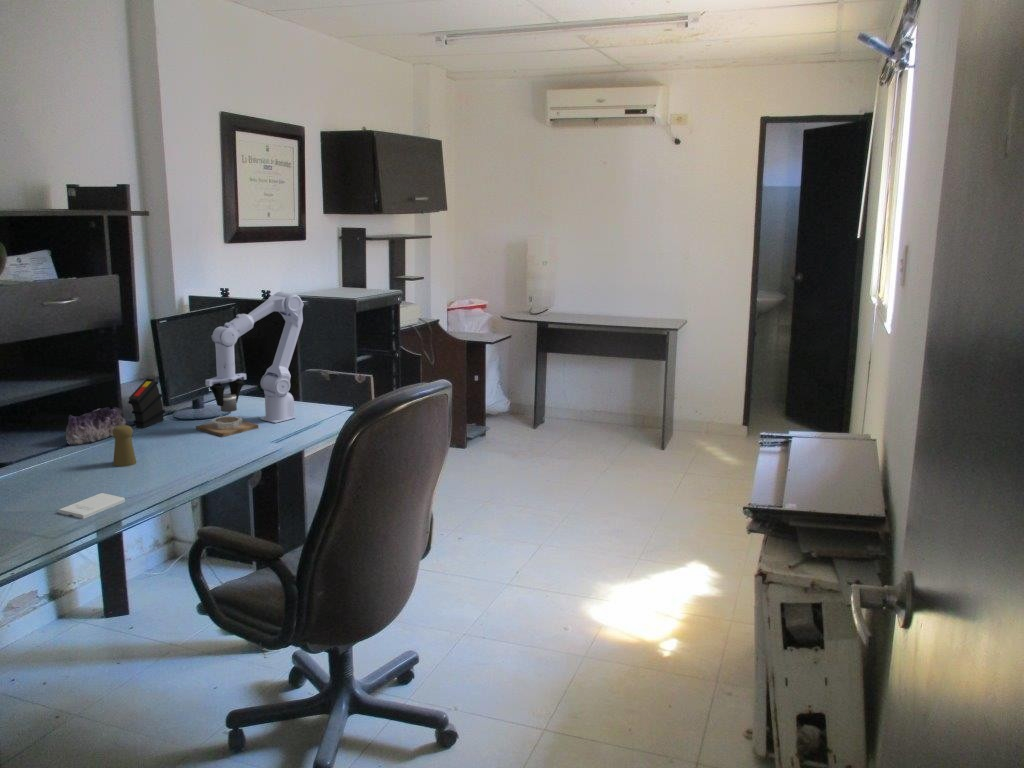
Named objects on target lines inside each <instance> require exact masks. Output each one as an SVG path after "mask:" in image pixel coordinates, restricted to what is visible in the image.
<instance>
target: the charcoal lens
mask: <svg viewBox="0 0 1024 768" xmlns="http://www.w3.org/2000/svg"><path fill="white" fill-rule="evenodd" d="M237 406H238V404H237V403H236V394H231V392H229V393H224V394H223V406H220V411H221V412H222V413H223V412H224V413H225V412H226V413H230V412H236V411H237V410H238V409H237V408H238V407H237Z"/></svg>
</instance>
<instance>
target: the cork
mask: <svg viewBox="0 0 1024 768" xmlns="http://www.w3.org/2000/svg"><path fill="white" fill-rule="evenodd" d="M133 433H134V429H133V428H132V426H130V425H127V424H126V425H121V426H117V427H115V428H114V429H113V436H112V437H114V451H113V461H112V464H113V466H115V467H120V468H121V467H130V466H134V465H136V464H137V458H136V454H135V450H134V446H133V441H132V436H133Z"/></svg>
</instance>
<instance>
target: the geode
mask: <svg viewBox="0 0 1024 768" xmlns="http://www.w3.org/2000/svg"><path fill="white" fill-rule="evenodd" d="M122 414H123V410H122V409H121V408H120V407H117V406H114V407H113V408H112V409H111V408H110V406H107V407H104V408H102V407H101V408H97V409H94V410H92V411H91V412H87V413H84V414H81V415H80V416H73V415H72V414H69V415H68V416H67V419H68V421H67V422H68V423H67V426H66V428H65V429H66V430H65V433H66V436H65V440H67V441H68V442H69V443H70V445H69V446H71V447H75V446H77V447H78V446H84V445H90V444H93V443H95V442H98V441H100V440H103V439H107V438H110V437H114V436H113V429H114V428H115V427H117V426H121V425H127V423H126V419H125V418H124V417H123V416H122Z"/></svg>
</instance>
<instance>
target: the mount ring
mask: <svg viewBox="0 0 1024 768" xmlns="http://www.w3.org/2000/svg"><path fill="white" fill-rule="evenodd" d="M242 421H243V418H242V417H239V416H235V415H227V416H226V415H225V416H218V417H217V416H216V417H215V418H213V419H211V422H212V427H213V428H215V429H223V430H227V429H235V428H239V427H241V426H242V425H243V423H242Z"/></svg>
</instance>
